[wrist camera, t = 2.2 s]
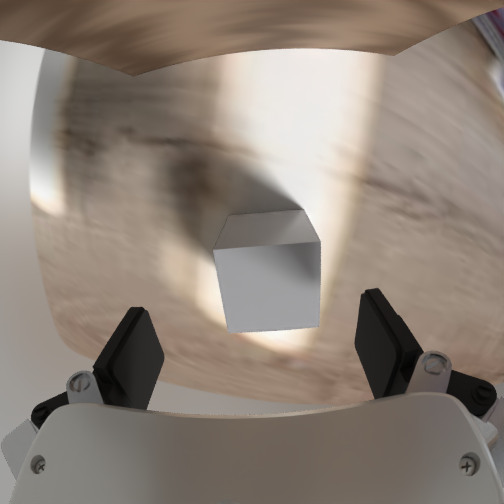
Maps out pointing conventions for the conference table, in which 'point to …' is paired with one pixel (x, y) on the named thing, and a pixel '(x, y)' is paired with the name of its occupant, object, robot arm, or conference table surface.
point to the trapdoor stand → (224, 26)
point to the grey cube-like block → (269, 271)
